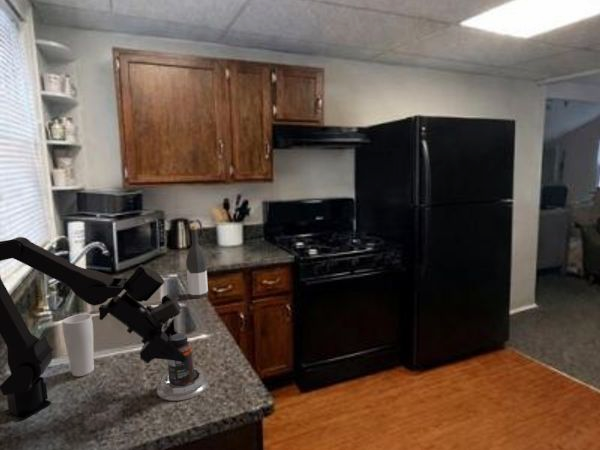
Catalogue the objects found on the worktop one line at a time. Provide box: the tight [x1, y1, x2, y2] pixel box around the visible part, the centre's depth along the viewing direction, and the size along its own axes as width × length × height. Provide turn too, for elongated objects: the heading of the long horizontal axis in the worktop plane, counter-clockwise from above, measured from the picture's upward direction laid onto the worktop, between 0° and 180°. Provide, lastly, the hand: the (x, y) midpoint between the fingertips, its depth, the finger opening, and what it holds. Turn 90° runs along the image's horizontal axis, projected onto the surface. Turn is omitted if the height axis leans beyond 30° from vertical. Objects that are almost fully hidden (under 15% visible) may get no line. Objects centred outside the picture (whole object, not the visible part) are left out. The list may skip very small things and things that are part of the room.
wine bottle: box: [185, 225, 209, 299], centre depth 163 cm, size 8×8×30 cm
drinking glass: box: [62, 313, 95, 377], centre depth 102 cm, size 7×7×15 cm
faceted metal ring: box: [156, 367, 209, 402], centre depth 95 cm, size 12×12×2 cm
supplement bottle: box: [167, 333, 195, 386], centre depth 94 cm, size 6×6×11 cm
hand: (185, 354), depth 94 cm, fingers closed on supplement bottle, 6 cm apart
